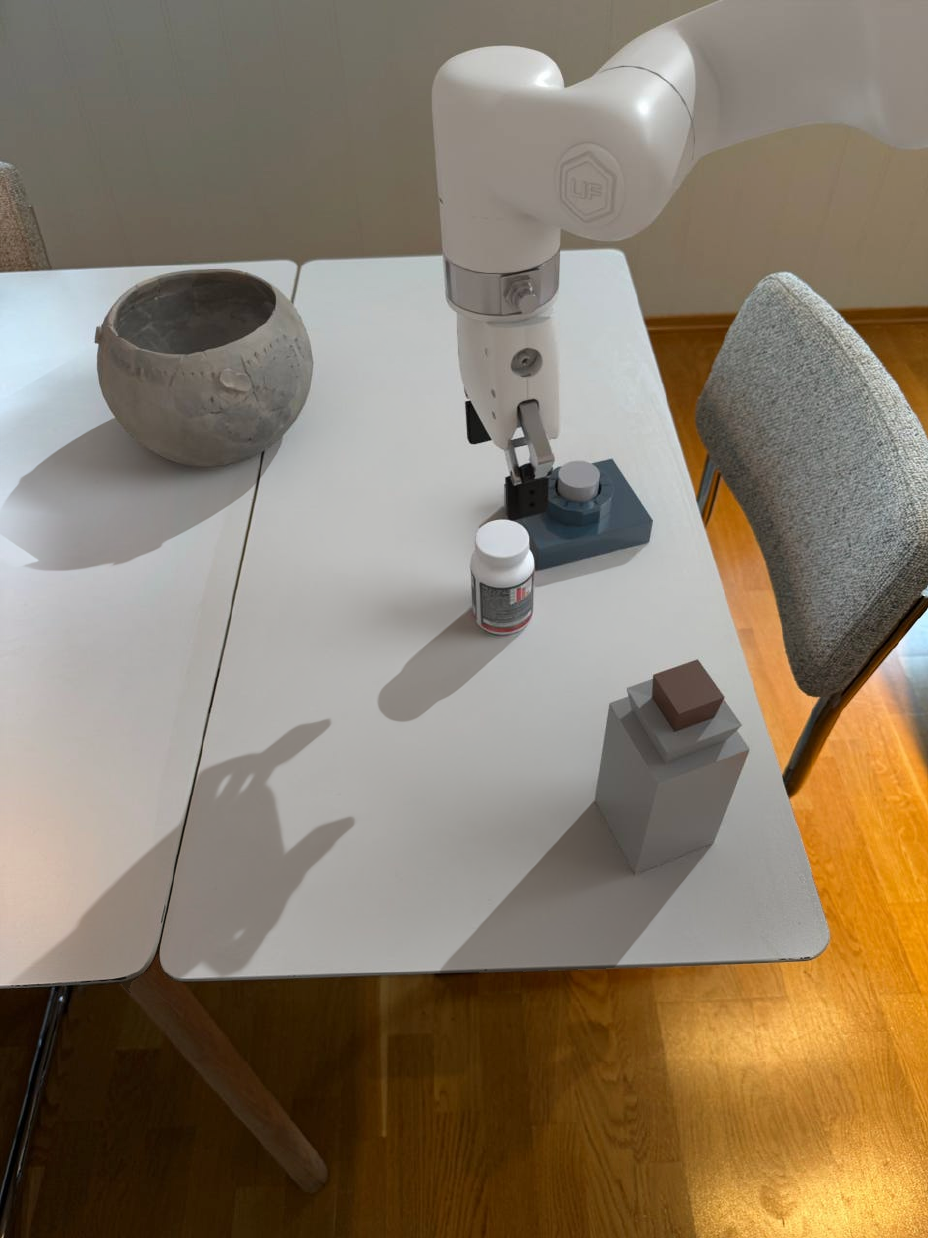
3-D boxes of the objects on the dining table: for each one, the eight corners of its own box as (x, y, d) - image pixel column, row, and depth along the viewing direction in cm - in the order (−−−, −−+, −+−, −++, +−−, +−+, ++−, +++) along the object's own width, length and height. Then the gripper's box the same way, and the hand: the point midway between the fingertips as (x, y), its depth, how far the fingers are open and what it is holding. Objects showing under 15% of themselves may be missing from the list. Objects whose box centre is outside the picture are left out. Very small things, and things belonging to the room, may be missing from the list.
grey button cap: (588, 472, 90) (590, 456, 89) (604, 498, 88) (606, 482, 86) (551, 481, 89) (552, 465, 88) (566, 507, 87) (567, 491, 85)
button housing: (609, 479, 96) (614, 442, 92) (649, 542, 90) (656, 505, 86) (503, 505, 94) (503, 468, 90) (537, 571, 88) (538, 534, 84)
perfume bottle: (594, 800, 72) (615, 662, 58) (669, 772, 73) (707, 631, 59) (634, 874, 67) (667, 745, 54) (713, 843, 69) (765, 709, 55)
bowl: (364, 408, 106) (347, 290, 94) (222, 518, 94) (183, 399, 83) (228, 346, 115) (198, 232, 104) (84, 439, 104) (32, 323, 92)
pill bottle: (545, 614, 84) (549, 539, 77) (502, 647, 82) (501, 572, 74) (503, 582, 87) (503, 506, 80) (459, 612, 85) (455, 537, 77)
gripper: (608, 327, 53) (592, 535, 66) (512, 205, 64) (514, 403, 77) (488, 354, 52) (496, 560, 65) (411, 225, 63) (430, 423, 76)
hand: (505, 475), depth 71 cm, fingers open, 9 cm apart
